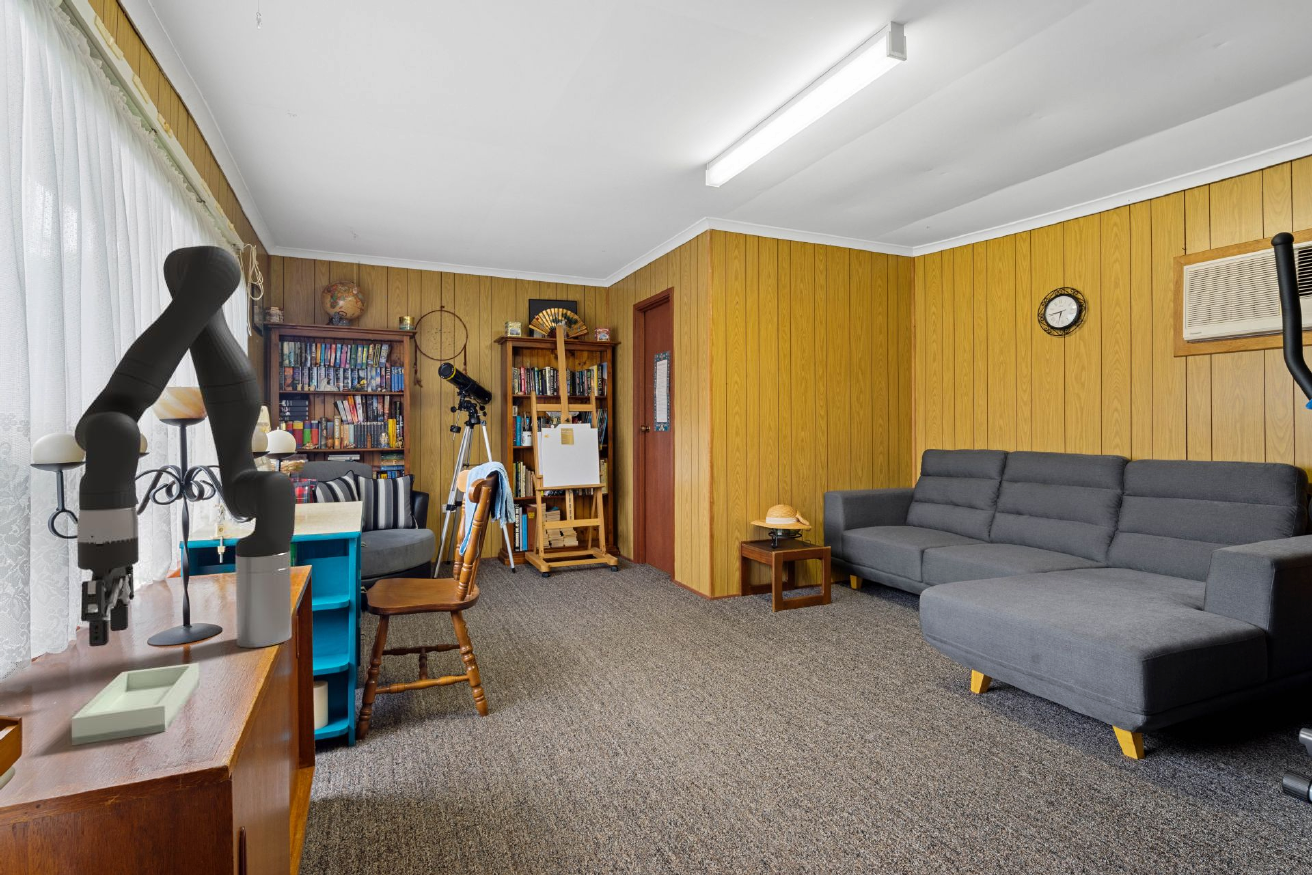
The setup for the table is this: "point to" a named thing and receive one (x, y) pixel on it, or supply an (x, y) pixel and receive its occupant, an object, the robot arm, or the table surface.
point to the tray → (136, 704)
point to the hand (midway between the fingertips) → (109, 637)
